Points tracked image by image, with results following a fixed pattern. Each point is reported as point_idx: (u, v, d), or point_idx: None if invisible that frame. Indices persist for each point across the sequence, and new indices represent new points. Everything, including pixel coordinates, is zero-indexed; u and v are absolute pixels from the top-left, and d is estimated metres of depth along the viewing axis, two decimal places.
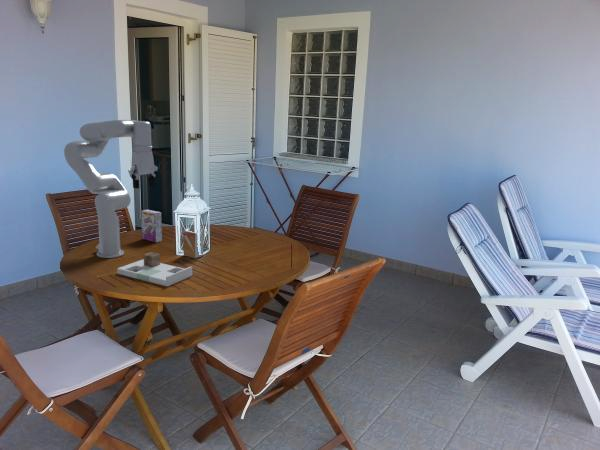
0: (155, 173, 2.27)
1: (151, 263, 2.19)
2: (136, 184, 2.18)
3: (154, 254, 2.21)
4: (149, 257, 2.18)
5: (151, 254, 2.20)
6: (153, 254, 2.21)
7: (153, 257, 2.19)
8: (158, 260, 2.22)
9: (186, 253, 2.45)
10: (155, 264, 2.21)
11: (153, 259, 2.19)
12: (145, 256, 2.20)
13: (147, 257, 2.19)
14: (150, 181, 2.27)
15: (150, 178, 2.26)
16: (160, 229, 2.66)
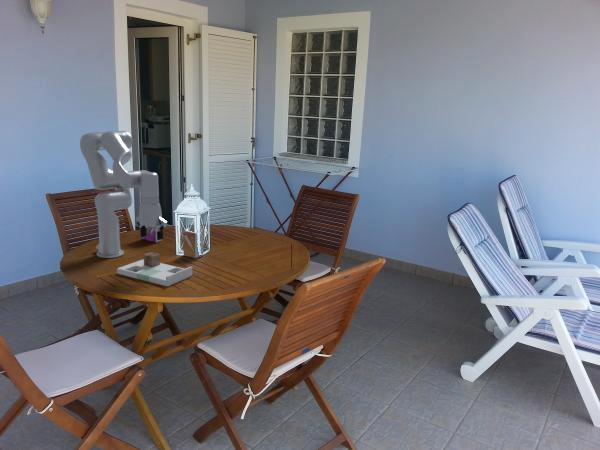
0: None
1: (151, 263, 2.19)
2: None
3: (154, 254, 2.21)
4: (149, 257, 2.18)
5: (151, 254, 2.20)
6: (153, 254, 2.21)
7: (153, 257, 2.19)
8: (158, 260, 2.22)
9: (186, 253, 2.45)
10: (155, 264, 2.21)
11: (153, 259, 2.19)
12: (145, 256, 2.20)
13: (147, 257, 2.19)
14: (143, 232, 2.20)
15: (143, 229, 2.20)
16: None
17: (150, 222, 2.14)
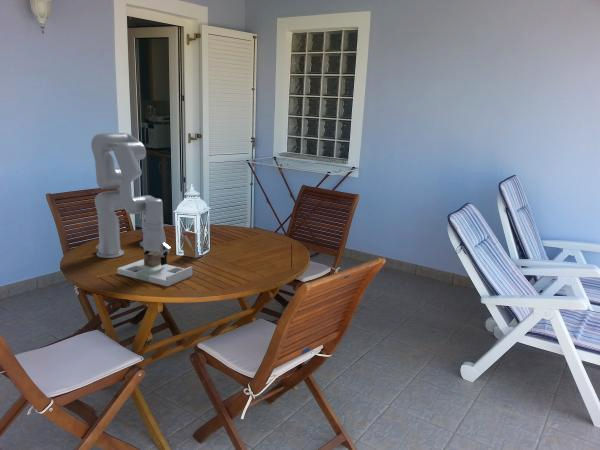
0: None
1: (151, 263, 2.19)
2: None
3: (154, 254, 2.21)
4: (149, 257, 2.18)
5: (152, 254, 2.20)
6: (153, 254, 2.21)
7: (153, 257, 2.19)
8: (159, 260, 2.22)
9: (186, 253, 2.45)
10: (155, 264, 2.20)
11: (153, 259, 2.19)
12: (145, 256, 2.19)
13: (147, 257, 2.19)
14: None
15: None
16: None
17: (154, 248, 2.16)
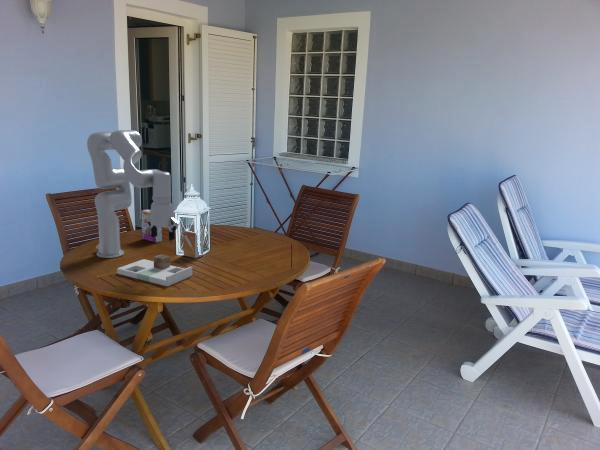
0: None
1: (161, 265, 2.16)
2: None
3: (164, 256, 2.18)
4: (159, 259, 2.16)
5: (161, 256, 2.18)
6: (163, 256, 2.18)
7: (163, 259, 2.16)
8: (168, 262, 2.20)
9: (186, 253, 2.45)
10: (165, 266, 2.18)
11: (163, 261, 2.16)
12: (155, 258, 2.17)
13: (157, 259, 2.17)
14: (154, 232, 2.17)
15: (154, 229, 2.17)
16: (160, 229, 2.66)
17: (162, 222, 2.11)
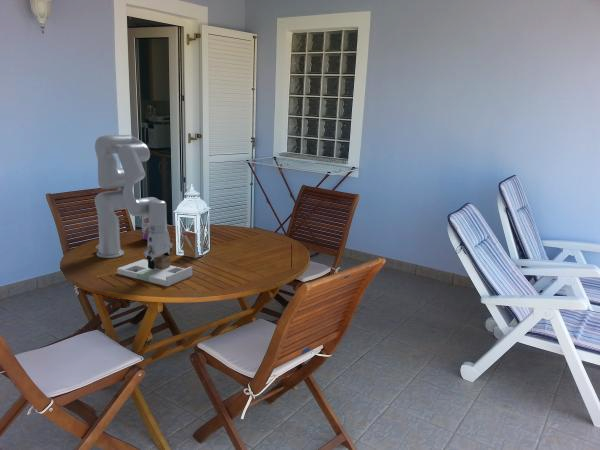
0: None
1: (161, 265, 2.16)
2: None
3: (164, 256, 2.18)
4: (159, 259, 2.16)
5: (161, 256, 2.18)
6: (163, 256, 2.18)
7: (163, 259, 2.16)
8: (168, 262, 2.20)
9: (186, 253, 2.45)
10: (165, 266, 2.18)
11: (163, 261, 2.16)
12: (155, 258, 2.17)
13: (157, 259, 2.17)
14: None
15: None
16: None
17: (166, 248, 2.16)
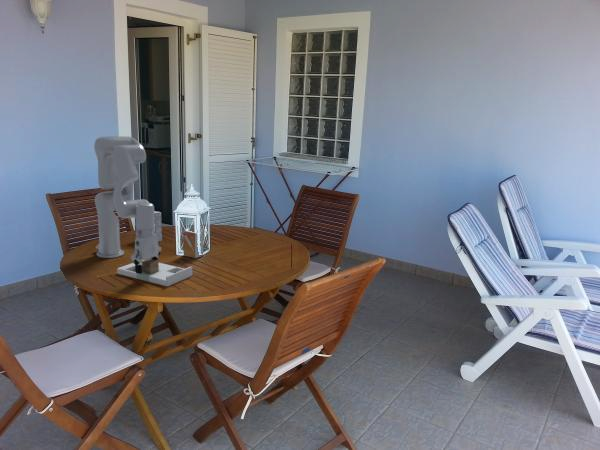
0: None
1: (149, 270, 2.10)
2: None
3: (152, 261, 2.12)
4: (147, 263, 2.09)
5: (150, 261, 2.11)
6: (151, 261, 2.12)
7: (151, 264, 2.10)
8: (157, 267, 2.13)
9: (186, 253, 2.45)
10: (153, 271, 2.11)
11: (151, 266, 2.10)
12: (143, 263, 2.10)
13: (145, 263, 2.10)
14: None
15: None
16: (160, 229, 2.66)
17: (155, 252, 2.10)
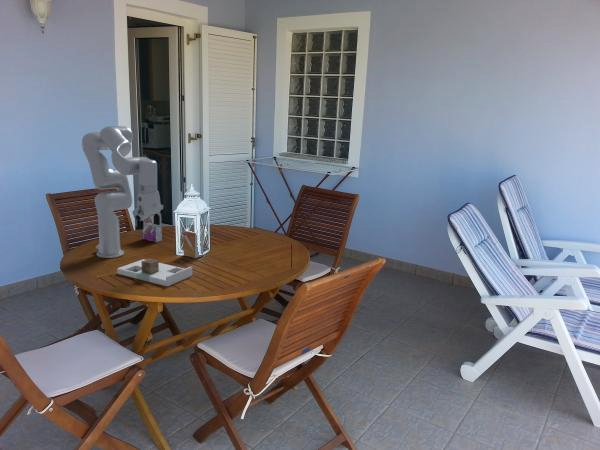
0: None
1: (149, 270, 2.10)
2: None
3: (152, 261, 2.12)
4: (147, 263, 2.09)
5: (150, 261, 2.11)
6: (151, 261, 2.12)
7: (151, 264, 2.10)
8: (157, 267, 2.13)
9: (186, 253, 2.45)
10: (153, 271, 2.11)
11: (151, 266, 2.10)
12: (143, 263, 2.10)
13: (145, 263, 2.10)
14: None
15: None
16: (160, 229, 2.66)
17: (157, 209, 2.13)
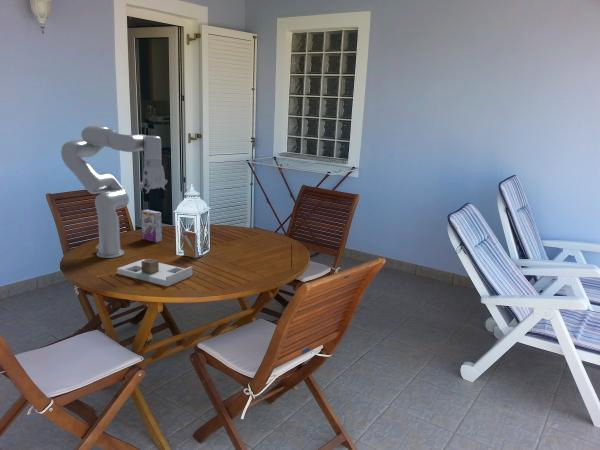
0: None
1: (149, 270, 2.10)
2: None
3: (152, 261, 2.12)
4: (147, 263, 2.09)
5: (150, 261, 2.11)
6: (151, 261, 2.12)
7: (151, 264, 2.10)
8: (157, 267, 2.13)
9: (186, 253, 2.45)
10: (153, 271, 2.11)
11: (151, 266, 2.10)
12: (143, 263, 2.10)
13: (145, 263, 2.10)
14: None
15: None
16: (160, 229, 2.66)
17: (161, 183, 2.26)
